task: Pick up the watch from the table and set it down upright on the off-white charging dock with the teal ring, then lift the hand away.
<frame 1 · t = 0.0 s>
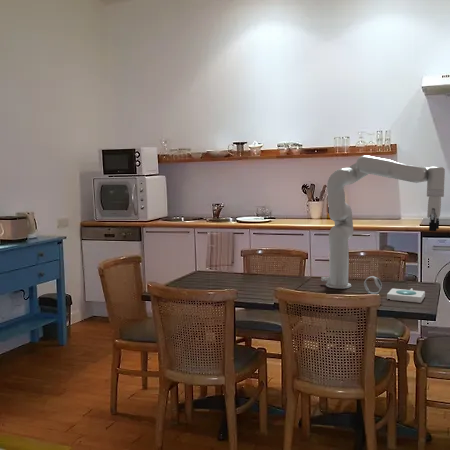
hand: (433, 229, 271), 31 cm above the table, tool pointing down, fingers open, 9 cm apart
charging dock: (405, 297, 270), on the table
watch: (372, 300, 265), on the table
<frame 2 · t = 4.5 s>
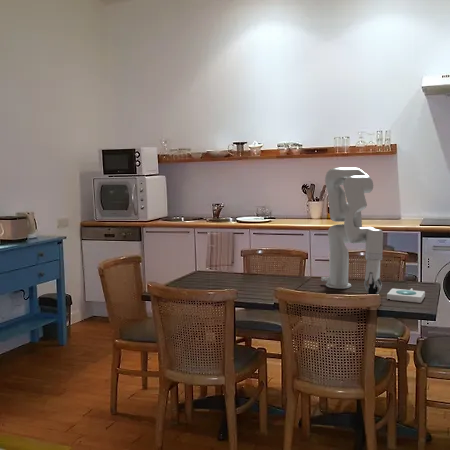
hand: (372, 295, 265), 2 cm above the table, tool pointing down, fingers closed on watch, 3 cm apart
watch: (372, 300, 265), on the table, touching gripper
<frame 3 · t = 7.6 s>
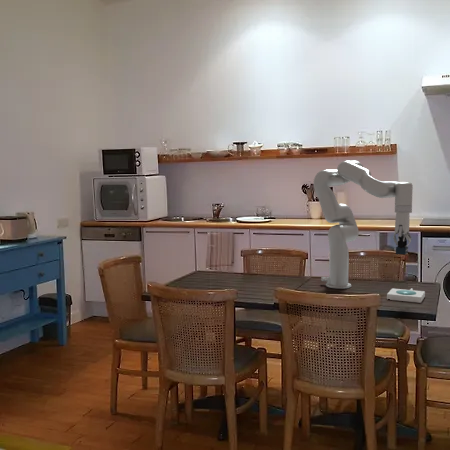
hand: (402, 248, 266), 23 cm above the table, tool pointing down, fingers closed on watch, 3 cm apart
watch: (402, 253, 266), point 21 cm above the table, touching gripper
when the fingers open (7 cm above the table, at t = 11.2 s): watch drops 2 cm, resting on charging dock.
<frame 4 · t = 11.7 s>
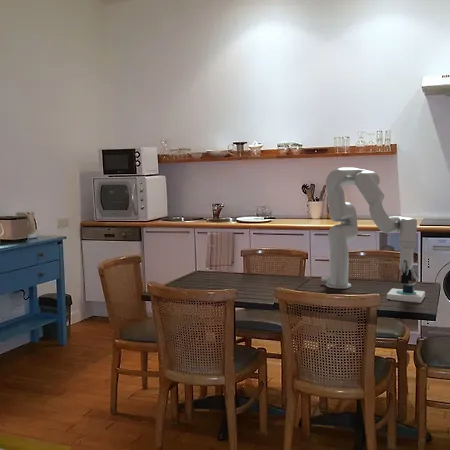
hand: (406, 281, 269), 8 cm above the table, tool pointing down, fingers open, 8 cm apart
watch: (408, 291, 270), point 3 cm above the table, touching charging dock
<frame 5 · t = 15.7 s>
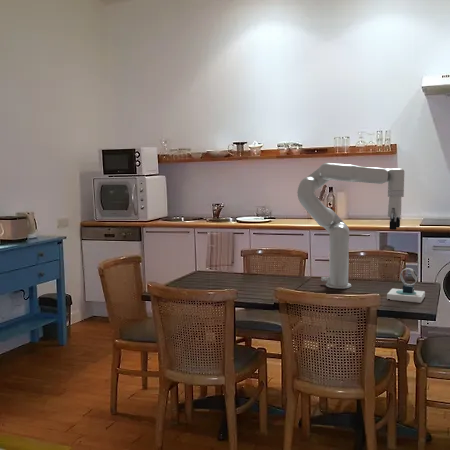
hand: (394, 228, 285), 30 cm above the table, tool pointing down, fingers open, 9 cm apart
nothing on the table moved.
at the end: watch inside the target area on the charging dock (2.0 cm from its centre), point 2.5 cm above the charging dock's base; watch tilted 0°; the gripper is holding nothing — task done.
